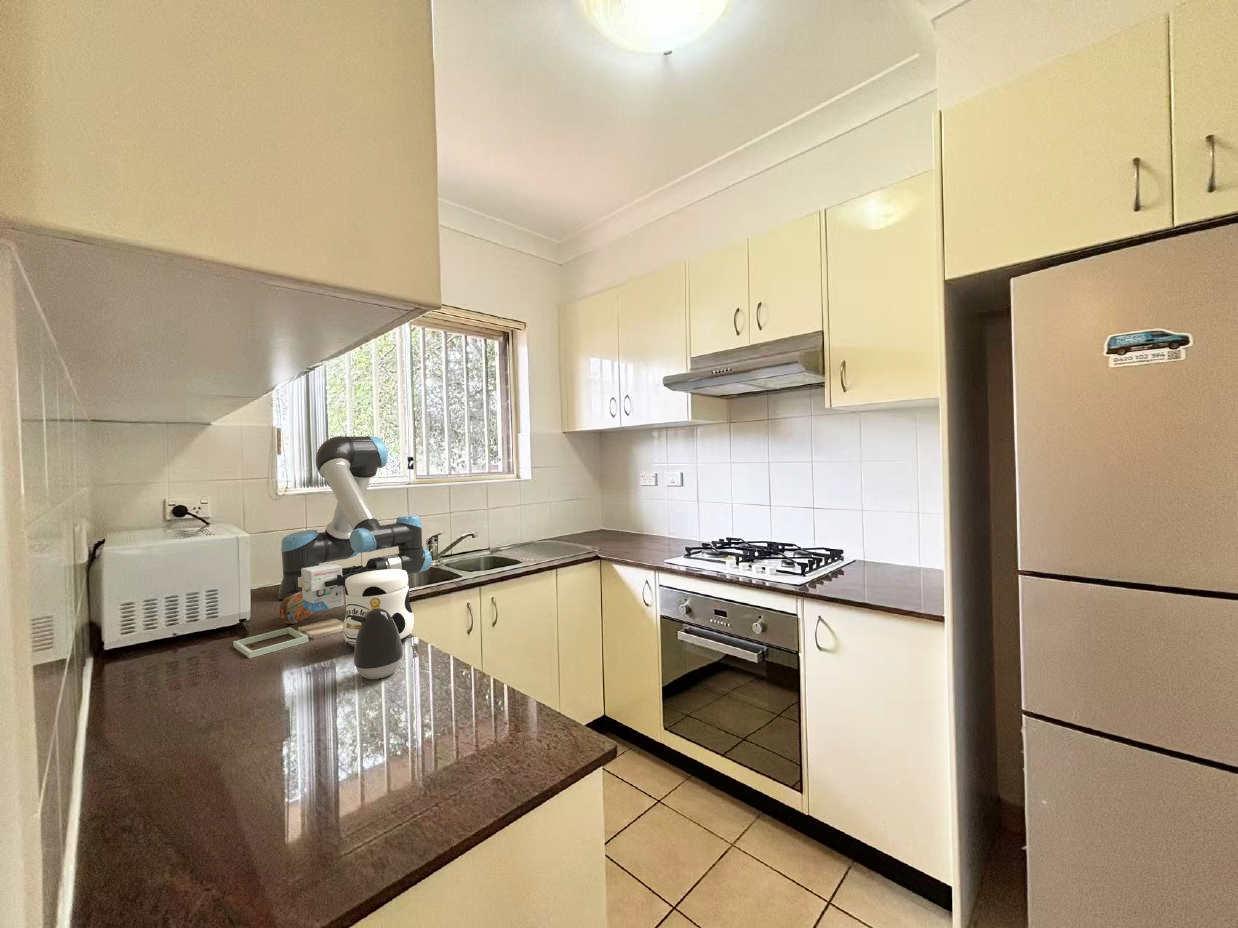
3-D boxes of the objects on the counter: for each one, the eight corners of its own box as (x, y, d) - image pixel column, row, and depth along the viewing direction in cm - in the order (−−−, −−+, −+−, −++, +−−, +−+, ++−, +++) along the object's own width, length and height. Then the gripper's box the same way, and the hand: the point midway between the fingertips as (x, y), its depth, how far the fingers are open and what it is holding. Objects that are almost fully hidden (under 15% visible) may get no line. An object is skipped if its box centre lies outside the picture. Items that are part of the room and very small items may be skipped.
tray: (233, 646, 139) (233, 641, 139) (290, 632, 149) (290, 626, 149) (249, 658, 130) (249, 652, 130) (308, 641, 141) (308, 636, 140)
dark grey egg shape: (357, 669, 120) (354, 605, 120) (405, 662, 124) (402, 600, 123) (349, 688, 111) (346, 618, 110) (401, 679, 114) (398, 612, 114)
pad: (297, 630, 150) (297, 627, 150) (334, 621, 158) (333, 618, 158) (314, 639, 142) (313, 635, 142) (351, 628, 150) (351, 625, 150)
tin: (288, 627, 153) (287, 599, 153) (278, 628, 154) (276, 600, 153) (318, 611, 168) (317, 586, 168) (309, 612, 169) (308, 586, 168)
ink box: (312, 612, 144) (309, 571, 143) (302, 607, 149) (300, 567, 149) (344, 605, 150) (342, 565, 150) (334, 600, 156) (332, 562, 155)
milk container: (335, 658, 128) (331, 586, 128) (353, 634, 145) (350, 571, 145) (409, 649, 132) (405, 580, 132) (418, 627, 149) (415, 566, 149)
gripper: (400, 584, 157) (320, 603, 139) (368, 576, 170) (291, 592, 153) (399, 560, 157) (319, 575, 139) (366, 553, 170) (290, 567, 153)
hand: (304, 584), depth 146 cm, fingers closed on ink box, 9 cm apart
